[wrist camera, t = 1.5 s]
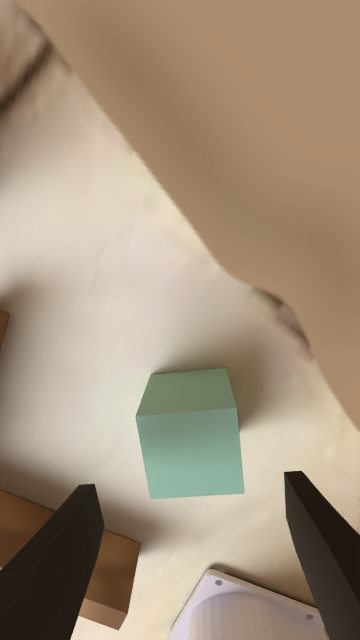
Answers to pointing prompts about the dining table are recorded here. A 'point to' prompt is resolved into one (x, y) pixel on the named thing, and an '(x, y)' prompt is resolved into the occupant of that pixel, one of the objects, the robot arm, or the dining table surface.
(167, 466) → the teal cube
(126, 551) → the corner arena
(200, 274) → the dining table surface
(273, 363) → the dining table surface
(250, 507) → the dining table surface
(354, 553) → the robot arm
